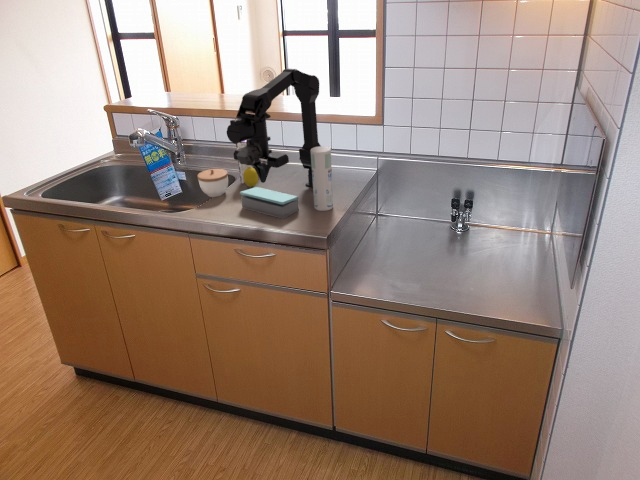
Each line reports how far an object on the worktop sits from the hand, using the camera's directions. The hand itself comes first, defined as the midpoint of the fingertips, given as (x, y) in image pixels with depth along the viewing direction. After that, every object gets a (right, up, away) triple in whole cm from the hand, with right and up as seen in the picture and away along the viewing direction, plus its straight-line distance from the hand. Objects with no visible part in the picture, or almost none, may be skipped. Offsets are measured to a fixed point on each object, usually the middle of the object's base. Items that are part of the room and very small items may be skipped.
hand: (263, 182), depth 167 cm
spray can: (+20, -8, +5) cm, 22 cm away
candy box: (-8, +6, +35) cm, 36 cm away
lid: (+1, -4, +4) cm, 6 cm away
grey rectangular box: (+2, -8, +6) cm, 10 cm away
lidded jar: (-20, -2, +21) cm, 29 cm away
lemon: (-7, +1, +25) cm, 26 cm away
